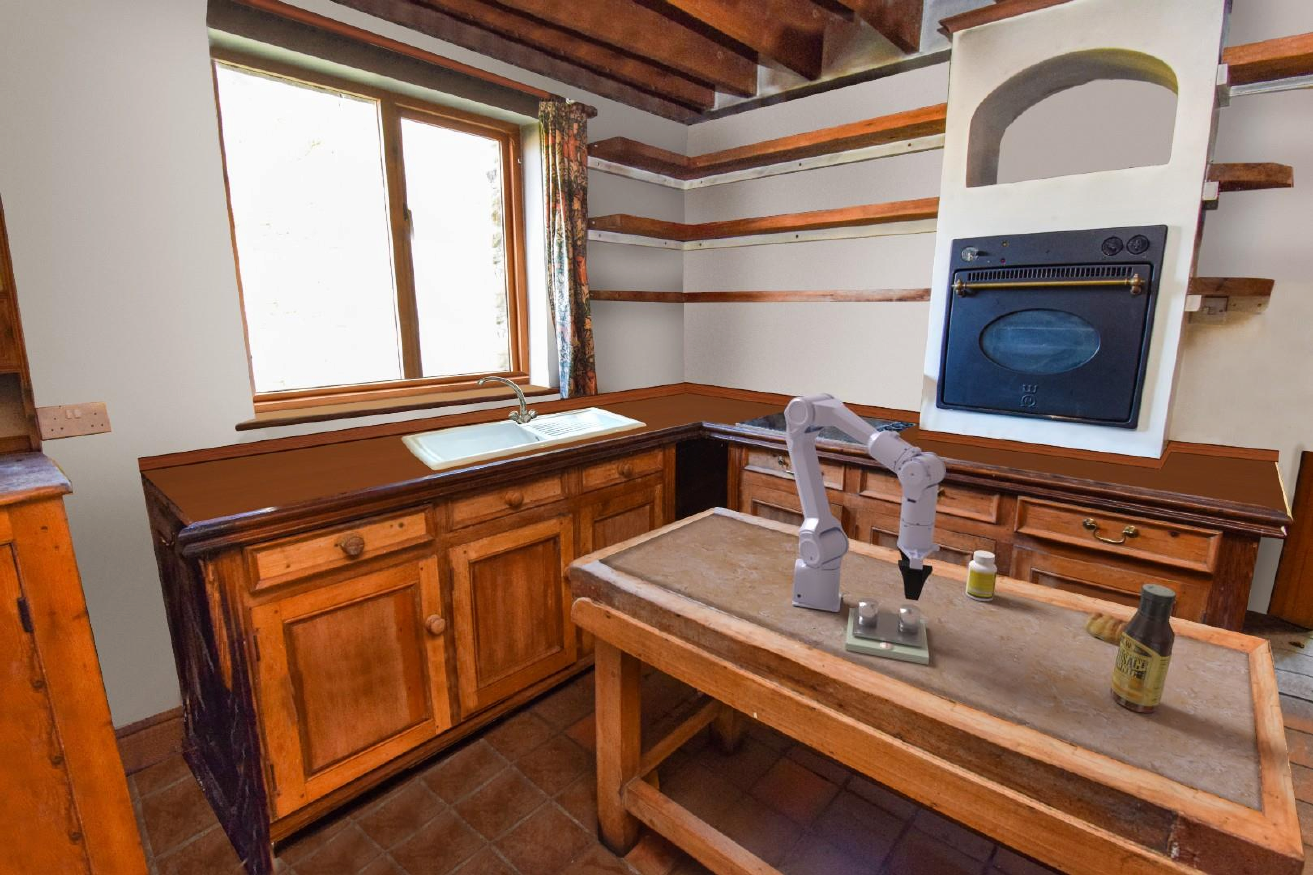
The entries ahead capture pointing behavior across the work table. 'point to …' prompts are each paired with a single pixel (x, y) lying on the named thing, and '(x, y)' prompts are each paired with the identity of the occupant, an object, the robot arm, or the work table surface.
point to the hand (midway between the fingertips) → (910, 589)
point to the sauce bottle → (1145, 652)
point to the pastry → (1105, 627)
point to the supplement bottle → (981, 576)
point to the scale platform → (886, 630)
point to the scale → (887, 645)
